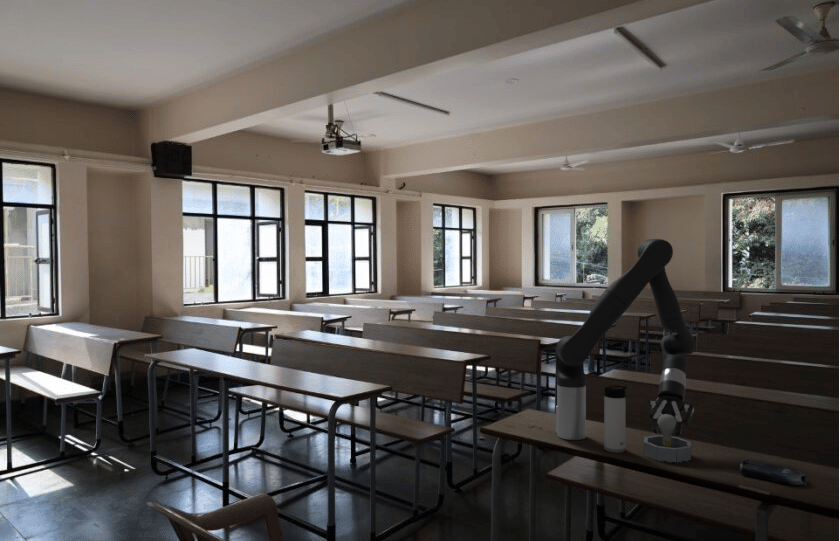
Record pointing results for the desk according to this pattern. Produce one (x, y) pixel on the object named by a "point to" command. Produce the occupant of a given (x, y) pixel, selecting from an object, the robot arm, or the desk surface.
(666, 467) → the desk surface
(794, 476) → the electronic device
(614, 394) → the travel mug
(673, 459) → the bowl
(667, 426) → the light bulb
